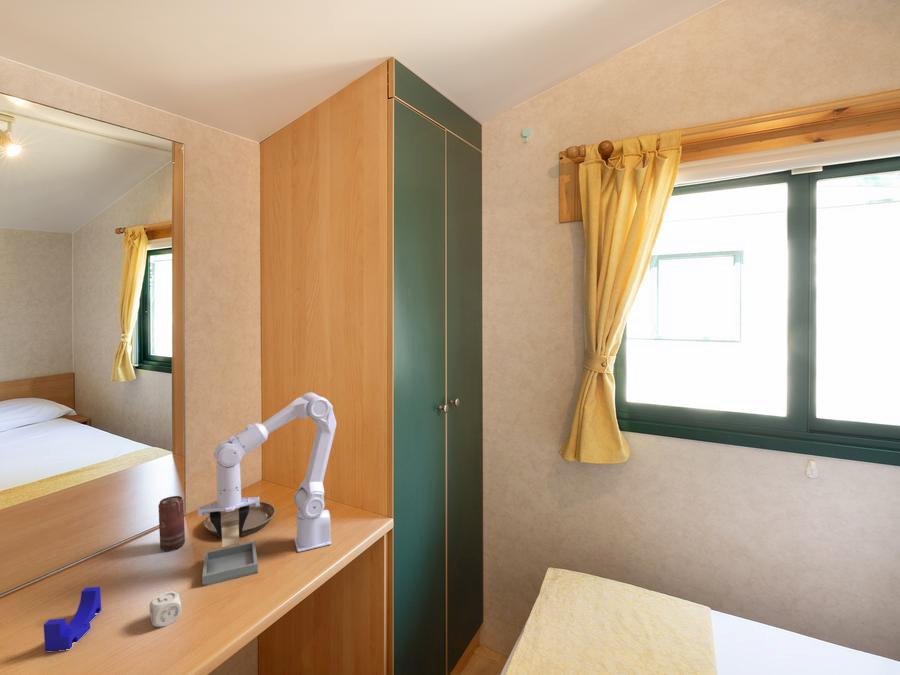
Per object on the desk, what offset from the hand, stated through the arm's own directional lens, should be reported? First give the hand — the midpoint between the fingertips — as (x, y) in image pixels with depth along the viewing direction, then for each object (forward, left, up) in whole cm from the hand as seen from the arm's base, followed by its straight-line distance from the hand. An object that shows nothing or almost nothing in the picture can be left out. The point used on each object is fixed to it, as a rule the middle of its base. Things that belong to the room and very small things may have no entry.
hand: (230, 536), depth 117 cm
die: (+13, +16, -9) cm, 22 cm away
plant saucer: (-3, -25, -9) cm, 27 cm away
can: (+15, -19, -9) cm, 26 cm away
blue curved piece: (+29, +11, -9) cm, 33 cm away
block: (0, 0, -1) cm, 1 cm away
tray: (0, 0, -8) cm, 8 cm away
